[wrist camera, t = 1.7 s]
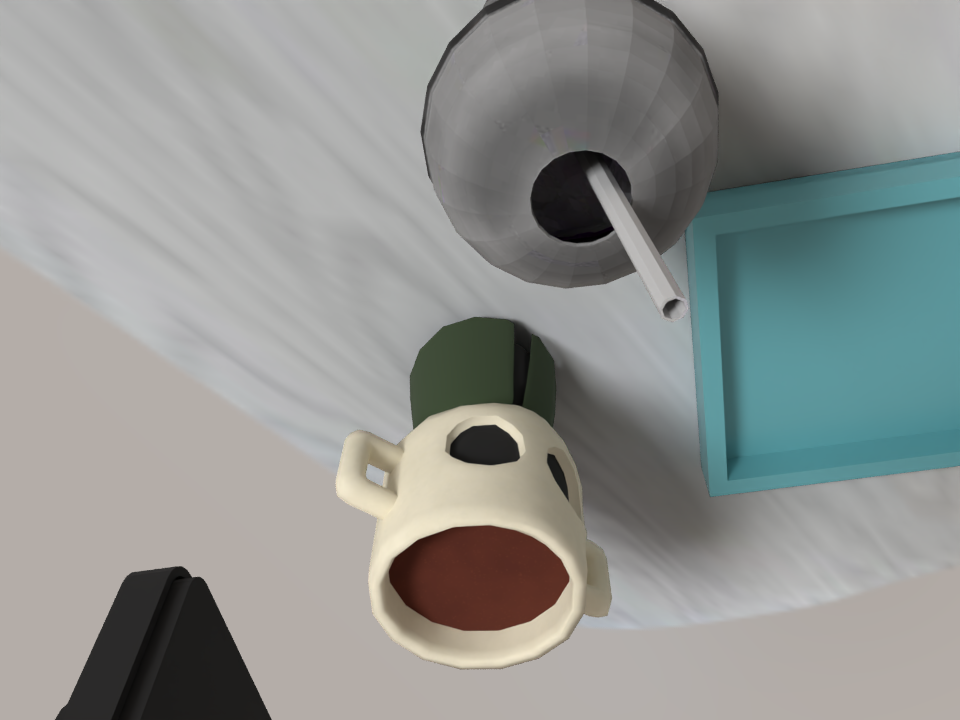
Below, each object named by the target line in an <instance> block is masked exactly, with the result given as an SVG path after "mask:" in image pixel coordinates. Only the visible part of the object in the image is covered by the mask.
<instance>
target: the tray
mask: <svg viewBox="0 0 960 720" xmlns="http://www.w3.org/2000/svg"><path fill="white" fill-rule="evenodd" d="M685 238H686V253H687V267H688V282H689V296H690V311H691V325H692V340H693V354H694V369H695V383H696V398H697V412H698V427H699V441H700V456H701V468H702V471H703V474H704V478H705V481H706V485H707V488H708V492H709V495H710V497H713V496H722V495H730V494H738V493H746V492H754V491H762V490H770V489H778V488H786V487H794V486H802V485H810V484H818V483H826V482H834V481H842V480H850V479H858V478H866V477H874V476H882V475H890V474H898V473H906V472H914V471H922V470H930V469H938V468H946V467H954V466H960V152H955V153H948V154H942V155H936V156H930V157H924V158H918V159H911V160H905V161H899V162H893V163H887V164H880V165H874V166H868V167H862V168H856V169H849V170H843V171H837V172H831V173H825V174H818V175H812V176H806V177H800V178H794V179H787V180H781V181H775V182H769V183H763V184H756V185H750V186H744V187H738V188H732V189H725V190H719V191H713V192H707V195H706V198H705V201H704V203H703V205H702V207H701V209H700V210H699V212H698V213H697V215H696V216H695V217H694V219H693V220H692V222H691V223H690V224H689V226H688V227H687V228H686V230H685Z"/></svg>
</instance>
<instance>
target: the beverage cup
mask: <svg viewBox="0 0 960 720" xmlns="http://www.w3.org/2000/svg"><path fill="white" fill-rule="evenodd" d="M421 137H422V143H423V148H424V154H425V159H426V165H427V171H428V176H429V178H430V180H431V181H432V183H433V187H434V190H435V192H436V194H437V197H438V198H439V200H440V202H441V204H442V206H443V208H444V210H445V211H446V213H447V215H448V217H449V219H450V221H451V222H452V224H453V226H454V228H455V230H456V232H457V233H458V234H459V235H460V236H461V237H462V238H463V239H464V240H465V241H466V242H467V243H468V244H470V245H471V246H472V247H473V248H474V249H475V250H476V251H477V252H478V253H479V254H480V255H481V256H482V257H483V258H484V259H485V260H486V261H488V262H489V263H490V264H491V265H493V266H495V267H497V268H499V269H501V270H503V271H505V272H507V273H510V274H512V275H514V276H516V277H518V278H520V279H522V280H524V281H526V282H530V283H536V284H542V285H548V286H554V287H560V288H574V287H583V286H592V285H601V284H607V283H609V282H612V281H614V280H616V279H619V278H621V277H624V276H626V275H629V274H631V273H634V272H636V271H637V272H638V274H639V276H640V278H641V280H642V282H643V284H644V286H645V287H646V289H647V291H648V293H649V295H650V297H651V299H652V300H653V302H654V304H655V306H656V308H657V310H658V312H659V314H660V315H661V317H662V319H664V320H667V321H670V322H674V321H676V320H679V319H682V318H683V317H684V316H685V314H686V312H687V311H688V309H689V307H688V304H687V301H686V298H685V297H684V295H683V293H682V292H681V290H680V288H679V287H678V285H677V283H676V281H675V280H674V278H673V276H672V275H671V273H670V271H669V270H668V268H667V266H666V264H665V263H664V261H663V259H662V258H661V256H660V255H661V254H663V253H664V252H665V251H667V250H668V249H669V248H670V247H672V246H673V245H674V244H676V242H677V241H678V240H679V238H680V237H681V235H682V234H683V233H684V231H685V230H686V228H687V227H688V226H689V224H690V223H691V222H692V220H693V219H694V217H695V216H696V215H697V213H698V212H699V210H700V209H701V207H702V205H703V203H704V201H705V198H706V195H707V192H708V189H709V186H710V183H711V180H712V177H713V174H714V171H715V168H716V165H717V161H718V91H717V88H716V85H715V82H714V79H713V76H712V73H711V70H710V68H709V65H708V62H707V59H706V56H705V53H704V50H703V48H702V47H701V46H700V45H699V43H698V42H697V41H696V40H695V38H694V37H693V36H692V35H691V33H690V32H689V31H688V30H687V28H686V27H685V26H684V25H683V24H682V22H681V21H680V20H679V19H678V17H677V16H676V15H675V14H674V12H673V11H671V10H669V9H668V8H666V7H664V6H663V5H661V4H659V3H657V2H656V1H654V0H487V1H486V3H485V5H484V7H483V9H482V10H481V11H480V12H479V13H478V14H477V15H476V16H475V17H474V18H473V19H472V20H471V21H470V22H469V23H468V24H467V25H466V26H465V27H464V28H463V29H462V30H461V31H460V32H459V33H458V34H457V35H456V36H455V37H454V38H453V39H452V40H451V41H450V42H449V44H448V46H447V48H446V50H445V52H444V54H443V56H442V58H441V60H440V62H439V64H438V66H437V68H436V70H435V72H434V74H433V76H432V78H431V80H430V82H429V84H428V86H427V92H426V98H425V105H424V112H423V119H422V126H421Z"/></svg>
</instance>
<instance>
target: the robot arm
mask: <svg viewBox="0 0 960 720" xmlns="http://www.w3.org/2000/svg"><path fill="white" fill-rule="evenodd" d="M55 720H271V717H270V715H269V713H268V711H267V709H266V707H265V705H264V703H263V701H262V699H261V697H260V695H259V692H258V690H257V688H256V686H255V684H254V682H253V680H252V678H251V676H250V674H249V672H248V669H247V668H246V665H245V663H244V661H243V659H242V657H241V655H240V653H239V651H238V649H237V646H236V644H235V642H234V640H233V638H232V636H231V634H230V632H229V630H228V628H227V626H226V624H225V621H224V619H223V617H222V615H221V613H220V611H219V609H218V607H217V605H216V603H215V600H214V599H213V596H212V594H211V592H210V590H209V588H208V586H207V584H206V582H205V581H204V579H202V578H201V577H193V578H192V577H191V575H190V574H189V572H188V571H187V570H186V569H185V568H183V567H181V566H179V567H170V568H162V569H155V570H147V571H140V572H132V573H131V574H129V575H128V576H127V577H126V578H125V580H124V582H123V583H122V585H121V587H120V589H119V591H118V594H117V596H116V598H115V600H114V602H113V605H112V607H111V609H110V611H109V614H108V616H107V618H106V620H105V622H104V624H103V627H102V629H101V631H100V633H99V636H98V638H97V640H96V642H95V644H94V647H93V649H92V651H91V654H90V655H89V658H88V660H87V662H86V664H85V667H84V669H83V671H82V673H81V675H80V677H79V680H78V682H77V684H76V686H75V688H74V691H73V693H72V695H71V698H70V700H69V702H68V704H67V705H66V706H65V707H63V708H62V709H61V711H60V712H59V714H58V716H57V717H56V719H55Z"/></svg>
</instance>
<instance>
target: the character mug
mask: <svg viewBox="0 0 960 720" xmlns="http://www.w3.org/2000/svg"><path fill="white" fill-rule="evenodd" d="M410 400H411V410H412V420H413V431H412V432H410V433H409V434H408V435H407V436H406V437H405V438H404V439H402V440H401V441H400V442H399V443H398V444H397V445H394V444H392V443H390V442H388V441H386V440H384V439H382V438H380V437H378V436H376V435H374V434H372V433H370V432H366V431H362V430H357V431H354V432H352V433H350V434H349V435H348V437H347V438H346V439H345V442H344V446H343V451H342V455H341V459H340V464H339V468H338V473H337V477H336V491H337V496H338V497H339V498H341V499H342V500H343V501H344V502H346V503H347V504H348V505H351V506H353V507H355V508H357V509H359V510H361V511H364V512H366V513H368V514H370V515H372V516H374V517H377V524H376V530H375V536H374V542H373V548H372V554H371V561H370V567H369V581H368V584H369V591H370V599H371V606H372V613H373V615H374V616H375V617H376V619H377V620H378V622H379V623H380V625H381V626H382V627H383V629H384V630H385V631H386V633H387V634H388V636H389V637H390V638H391V640H392V641H394V642H396V643H397V644H399V645H400V646H402V647H404V648H405V649H407V650H408V651H410V652H412V653H413V654H415V655H416V656H418V657H419V658H421V659H423V660H427V661H430V662H434V663H438V664H442V665H446V666H450V667H454V668H458V669H503V668H506V667H510V666H513V665H517V664H521V663H524V662H527V661H531V660H535V659H539V658H540V657H542V656H543V655H545V654H546V653H548V652H549V651H551V650H552V649H554V648H555V647H557V646H558V645H560V644H561V643H563V642H564V641H566V640H568V639H569V637H570V635H571V634H572V632H573V631H574V629H575V627H576V626H577V624H578V623H579V621H580V619H581V618H582V616H583V614H586V615H588V616H592V617H603V616H607V615H608V611H609V608H610V604H611V600H612V595H611V587H610V580H609V573H608V565H607V559H606V556H605V554H604V551H603V549H601V548H600V547H599V546H598V545H596V544H595V543H594V542H592V541H590V540H587V532H586V529H585V525H584V516H583V503H582V486H581V482H580V479H579V475H578V472H577V467H576V465H575V463H574V461H573V459H572V457H571V455H570V453H569V451H568V449H567V447H566V445H565V442H564V441H563V440H562V439H561V437H560V436H559V435H558V434H557V433H556V432H555V430H554V429H553V423H554V416H555V401H556V380H555V368H554V360H553V358H552V357H551V355H550V354H549V352H548V351H547V349H546V347H545V346H544V344H543V343H542V341H541V340H540V338H539V337H537V336H535V335H533V334H532V339H531V352H530V355H529V354H528V353H527V352H526V351H525V350H524V349H523V348H522V347H521V346H520V345H519V344H515V343H514V323H512V322H510V321H509V320H506V319H494V318H482V317H473V318H470V319H467V320H464V321H460V322H457V323H454V324H451V325H447V326H444V327H442V328H441V329H440V330H439V331H438V332H437V333H436V334H435V335H434V336H433V337H432V338H431V339H430V340H429V341H428V342H427V343H426V344H425V345H424V346H423V347H422V348H421V349H420V351H419V353H418V356H417V359H416V361H415V364H414V367H413V369H412V372H411V375H410ZM368 464H370V465H372V466H375V467H377V468H379V469H381V470H383V471H385V474H384V480H383V487H382V486H380V485H378V484H376V483H374V482H372V481H370V480H368V479H367V478H366V470H367V465H368Z"/></svg>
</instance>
